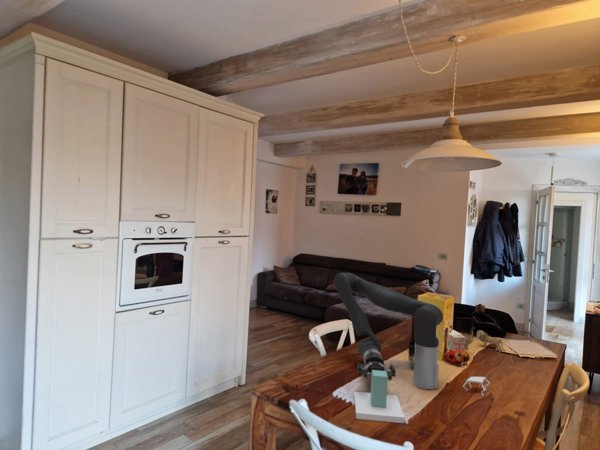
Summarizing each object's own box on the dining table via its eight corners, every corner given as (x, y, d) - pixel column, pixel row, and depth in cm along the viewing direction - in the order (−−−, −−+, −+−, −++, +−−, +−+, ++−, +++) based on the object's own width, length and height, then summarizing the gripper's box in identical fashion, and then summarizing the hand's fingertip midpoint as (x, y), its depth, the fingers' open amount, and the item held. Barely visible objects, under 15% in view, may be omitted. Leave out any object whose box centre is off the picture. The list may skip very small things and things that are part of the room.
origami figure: (481, 398, 149) (481, 386, 149) (460, 390, 156) (461, 378, 156) (496, 391, 157) (496, 379, 156) (476, 383, 163) (476, 372, 163)
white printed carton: (433, 346, 209) (434, 324, 209) (443, 346, 210) (445, 324, 210) (452, 361, 188) (453, 336, 188) (464, 361, 189) (466, 336, 188)
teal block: (384, 401, 139) (385, 371, 139) (386, 407, 134) (387, 376, 134) (370, 399, 140) (371, 370, 139) (371, 406, 135) (373, 375, 134)
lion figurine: (475, 346, 212) (476, 330, 212) (476, 344, 216) (477, 328, 216) (505, 353, 204) (506, 336, 203) (506, 350, 208) (507, 334, 208)
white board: (396, 400, 144) (396, 395, 144) (404, 423, 128) (404, 417, 128) (353, 396, 146) (354, 391, 146) (356, 418, 130) (356, 413, 130)
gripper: (356, 350, 157) (359, 365, 141) (391, 353, 156) (398, 368, 140) (355, 368, 157) (358, 385, 141) (390, 371, 156) (397, 389, 140)
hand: (378, 377), depth 141 cm, fingers open, 8 cm apart
